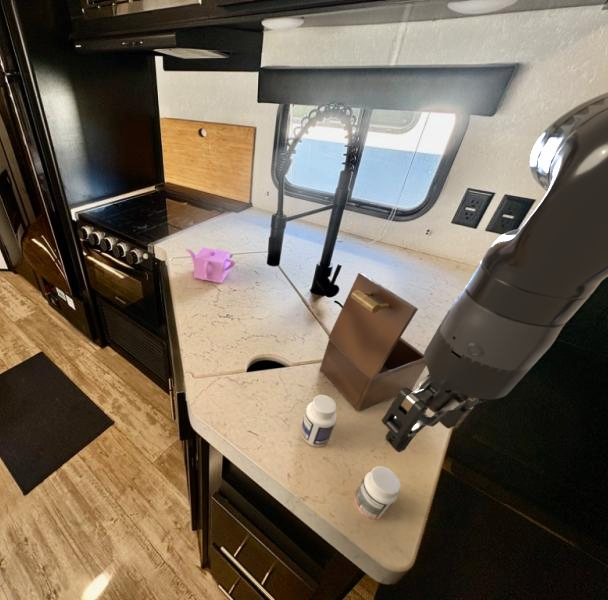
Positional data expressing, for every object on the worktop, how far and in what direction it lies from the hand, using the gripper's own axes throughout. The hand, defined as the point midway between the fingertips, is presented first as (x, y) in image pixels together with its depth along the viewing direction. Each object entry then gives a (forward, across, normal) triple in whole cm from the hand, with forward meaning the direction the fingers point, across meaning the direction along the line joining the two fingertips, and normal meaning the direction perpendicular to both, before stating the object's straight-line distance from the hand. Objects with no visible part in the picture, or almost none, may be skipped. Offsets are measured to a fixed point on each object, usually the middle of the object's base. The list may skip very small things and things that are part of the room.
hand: (418, 433), depth 39 cm
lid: (+2, -13, -21) cm, 24 cm away
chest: (+20, -19, -20) cm, 34 cm away
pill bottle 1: (+21, +1, -13) cm, 25 cm away
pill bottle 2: (+21, 0, 0) cm, 21 cm away
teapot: (+21, -3, -77) cm, 80 cm away
